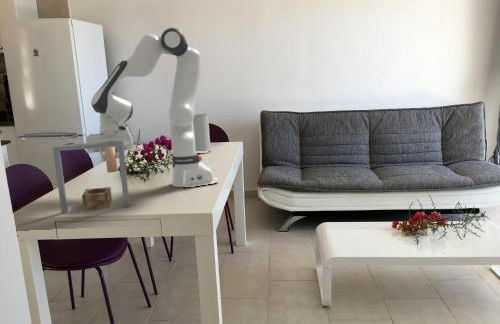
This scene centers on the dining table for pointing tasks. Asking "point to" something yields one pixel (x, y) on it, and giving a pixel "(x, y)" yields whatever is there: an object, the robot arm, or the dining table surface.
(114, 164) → the terracotta peg
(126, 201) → the grey arch frame
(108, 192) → the walnut socket
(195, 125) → the cylinder vase
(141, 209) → the dining table surface
